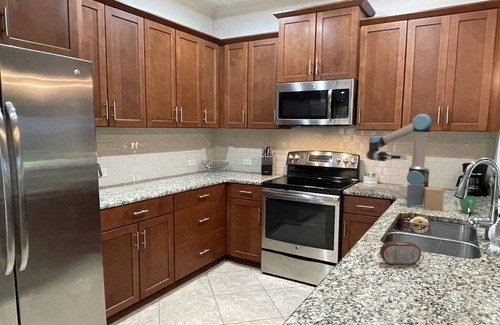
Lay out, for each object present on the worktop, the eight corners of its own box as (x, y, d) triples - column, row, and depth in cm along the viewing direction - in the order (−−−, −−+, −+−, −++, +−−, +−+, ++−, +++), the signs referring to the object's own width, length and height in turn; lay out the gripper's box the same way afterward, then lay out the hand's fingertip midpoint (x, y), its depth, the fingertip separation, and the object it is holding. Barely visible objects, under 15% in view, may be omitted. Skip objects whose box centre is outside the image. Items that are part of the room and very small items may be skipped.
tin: (417, 262, 128) (418, 241, 128) (421, 265, 125) (423, 243, 124) (378, 262, 128) (379, 240, 128) (382, 265, 125) (383, 243, 124)
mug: (457, 210, 218) (458, 195, 217) (474, 211, 214) (475, 196, 213) (461, 215, 205) (462, 199, 204) (480, 216, 201) (481, 200, 200)
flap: (423, 205, 228) (424, 184, 227) (407, 205, 225) (408, 184, 224) (411, 201, 240) (412, 181, 238) (395, 202, 237) (396, 182, 236)
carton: (440, 207, 225) (441, 188, 223) (442, 211, 215) (443, 190, 214) (423, 206, 228) (424, 187, 227) (425, 209, 219) (426, 189, 218)
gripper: (394, 160, 266) (412, 163, 246) (366, 161, 261) (383, 163, 240) (394, 151, 266) (413, 153, 245) (367, 151, 260) (383, 153, 239)
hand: (398, 158), depth 243 cm, fingers open, 13 cm apart
